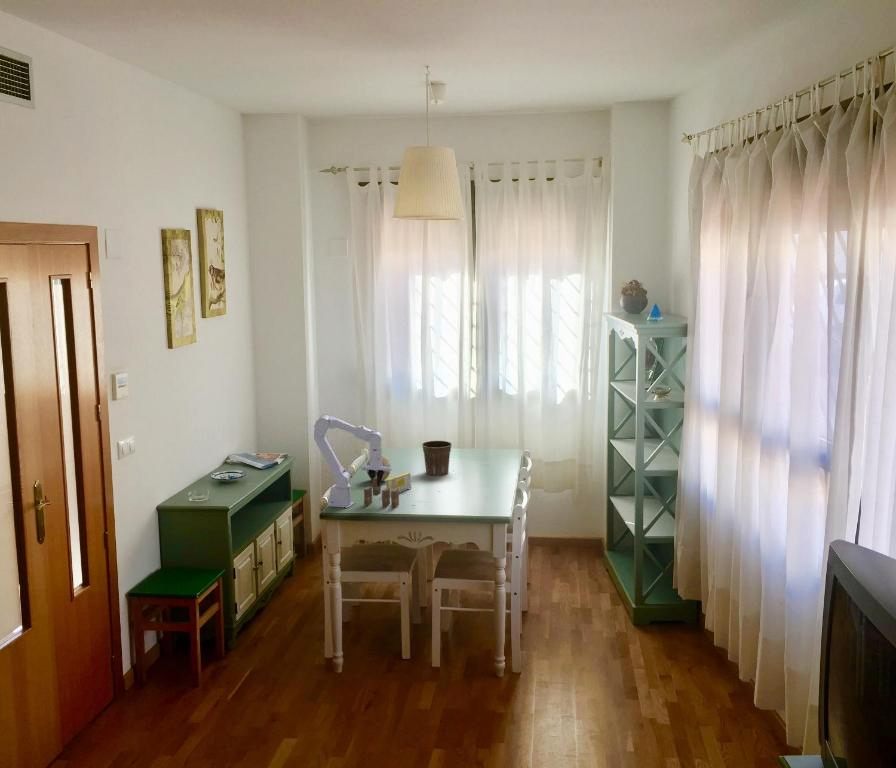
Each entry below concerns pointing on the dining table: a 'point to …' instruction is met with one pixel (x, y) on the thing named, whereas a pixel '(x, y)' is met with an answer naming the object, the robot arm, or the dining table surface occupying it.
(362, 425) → the robot arm
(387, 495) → the middle tile
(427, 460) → the plant pot
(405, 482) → the candy box
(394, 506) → the far tile
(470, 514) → the dining table surface
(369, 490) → the end tile
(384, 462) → the fossilized egg
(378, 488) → the tile
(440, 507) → the dining table surface
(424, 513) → the dining table surface
